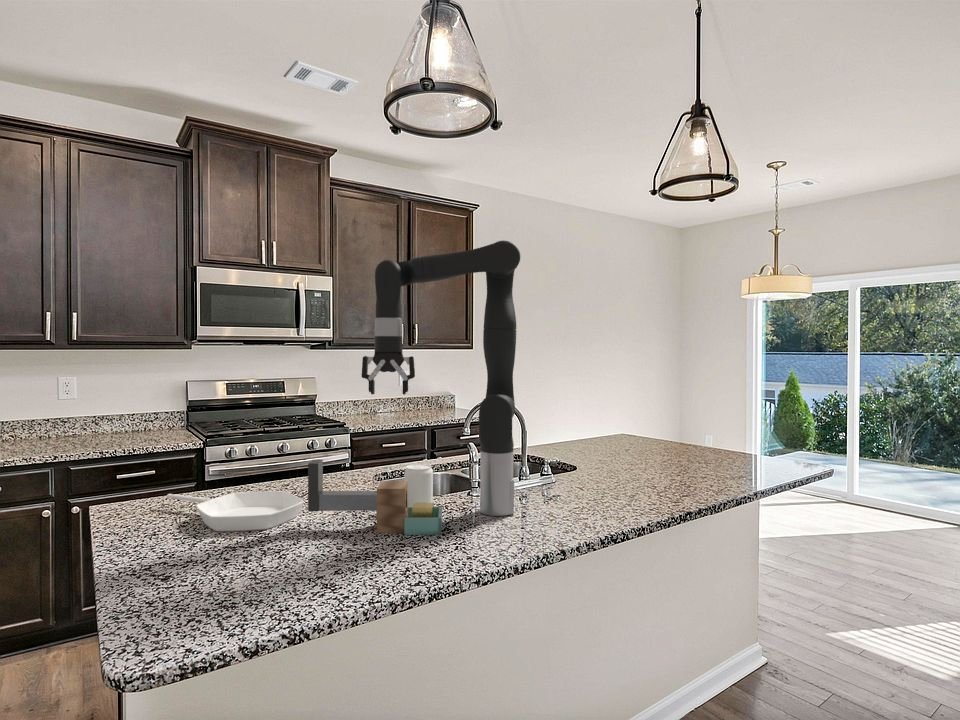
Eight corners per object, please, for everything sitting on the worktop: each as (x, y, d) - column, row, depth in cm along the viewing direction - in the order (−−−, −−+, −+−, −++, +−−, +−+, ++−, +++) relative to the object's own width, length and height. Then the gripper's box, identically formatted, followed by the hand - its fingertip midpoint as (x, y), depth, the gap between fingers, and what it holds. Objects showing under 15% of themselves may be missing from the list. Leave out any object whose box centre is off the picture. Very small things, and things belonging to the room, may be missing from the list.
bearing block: (407, 523, 157) (407, 481, 156) (405, 532, 149) (405, 488, 148) (380, 523, 156) (380, 481, 156) (376, 532, 148) (376, 488, 148)
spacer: (414, 521, 155) (433, 521, 155) (412, 527, 150) (431, 527, 150) (414, 502, 155) (433, 502, 155) (412, 507, 150) (431, 508, 150)
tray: (442, 521, 159) (442, 506, 158) (441, 534, 148) (441, 518, 147) (408, 521, 158) (408, 506, 158) (404, 534, 147) (404, 518, 147)
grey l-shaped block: (395, 505, 155) (395, 459, 155) (393, 511, 150) (393, 463, 150) (312, 506, 154) (312, 459, 154) (308, 511, 149) (308, 463, 149)
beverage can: (428, 513, 166) (428, 470, 166) (400, 511, 168) (400, 468, 167) (436, 505, 174) (436, 464, 174) (409, 503, 176) (409, 463, 175)
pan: (251, 540, 142) (251, 522, 142) (124, 521, 157) (124, 504, 156) (320, 510, 168) (320, 495, 168) (206, 496, 182) (206, 482, 182)
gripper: (415, 335, 167) (415, 393, 168) (364, 334, 167) (364, 393, 167) (413, 334, 160) (413, 395, 160) (360, 334, 159) (359, 395, 159)
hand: (388, 394), depth 164 cm, fingers open, 8 cm apart
